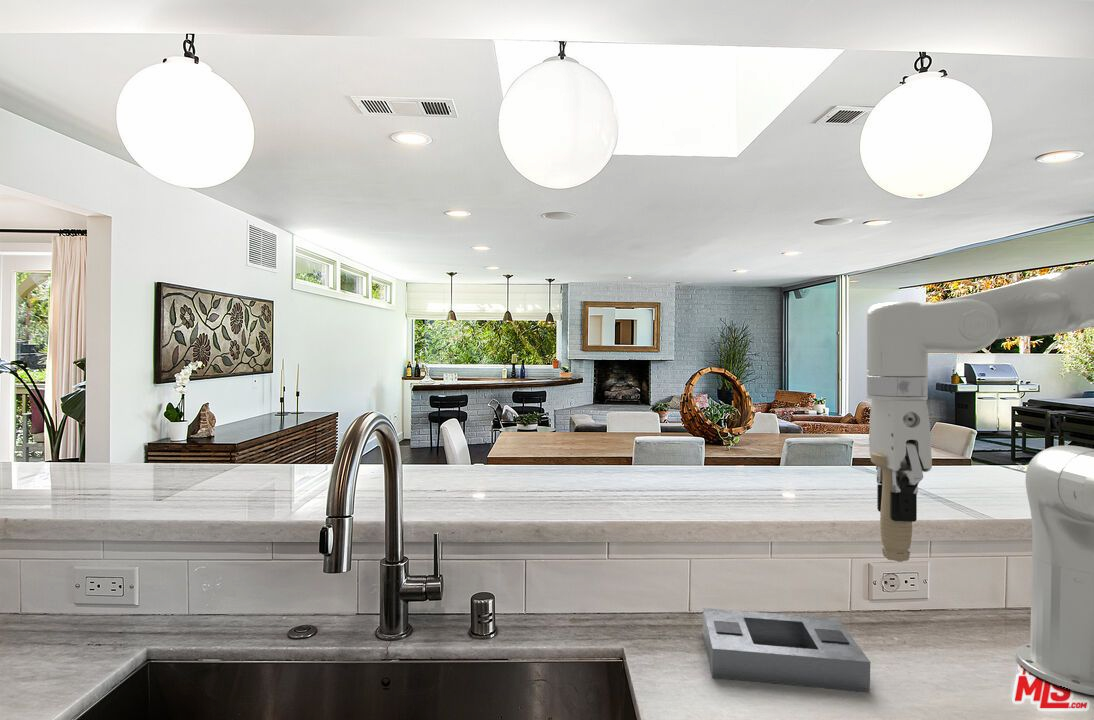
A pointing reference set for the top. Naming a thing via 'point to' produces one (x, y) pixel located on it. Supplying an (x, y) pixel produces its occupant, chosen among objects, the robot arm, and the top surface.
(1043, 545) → the robot arm
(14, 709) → the top surface
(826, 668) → the block
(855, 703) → the top surface
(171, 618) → the top surface
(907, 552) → the handle
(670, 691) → the top surface
